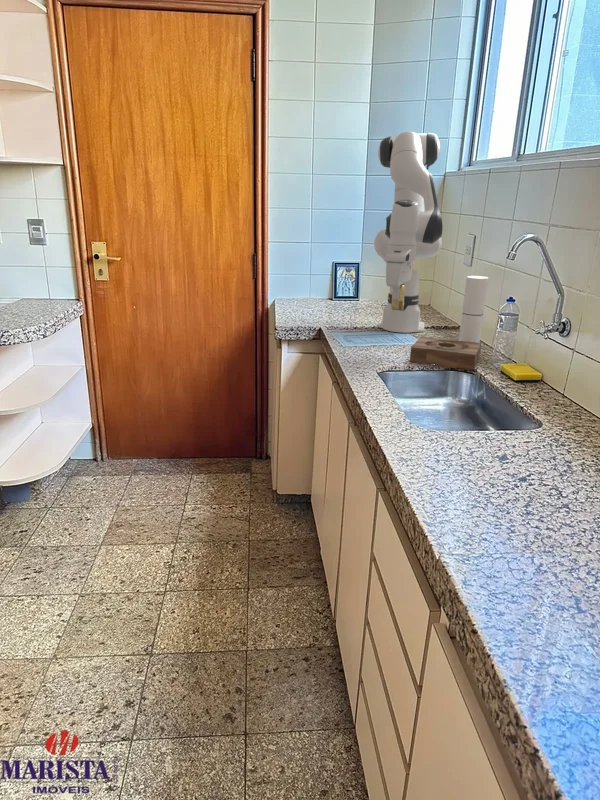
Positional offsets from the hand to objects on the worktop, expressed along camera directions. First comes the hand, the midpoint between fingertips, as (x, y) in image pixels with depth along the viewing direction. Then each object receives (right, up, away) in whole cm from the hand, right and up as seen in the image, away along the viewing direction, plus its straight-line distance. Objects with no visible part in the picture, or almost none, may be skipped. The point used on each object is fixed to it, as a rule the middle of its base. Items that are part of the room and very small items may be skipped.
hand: (398, 297), depth 181 cm
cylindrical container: (+28, -16, +15) cm, 35 cm away
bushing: (0, -4, +1) cm, 4 cm away
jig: (+16, -21, 0) cm, 26 cm away
